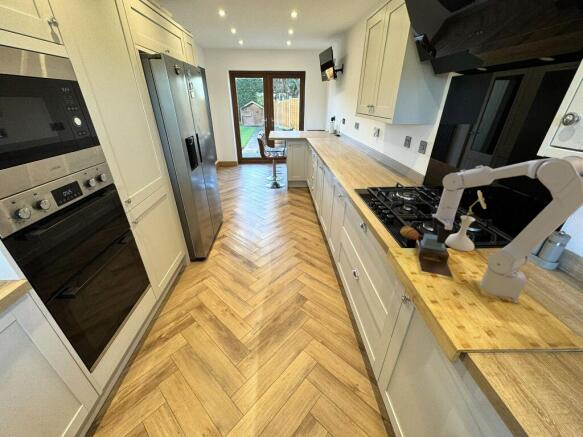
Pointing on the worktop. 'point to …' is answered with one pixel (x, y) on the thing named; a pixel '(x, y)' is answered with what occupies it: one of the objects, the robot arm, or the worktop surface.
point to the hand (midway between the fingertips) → (438, 237)
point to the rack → (433, 265)
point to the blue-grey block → (432, 242)
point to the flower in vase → (464, 231)
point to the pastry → (409, 233)
